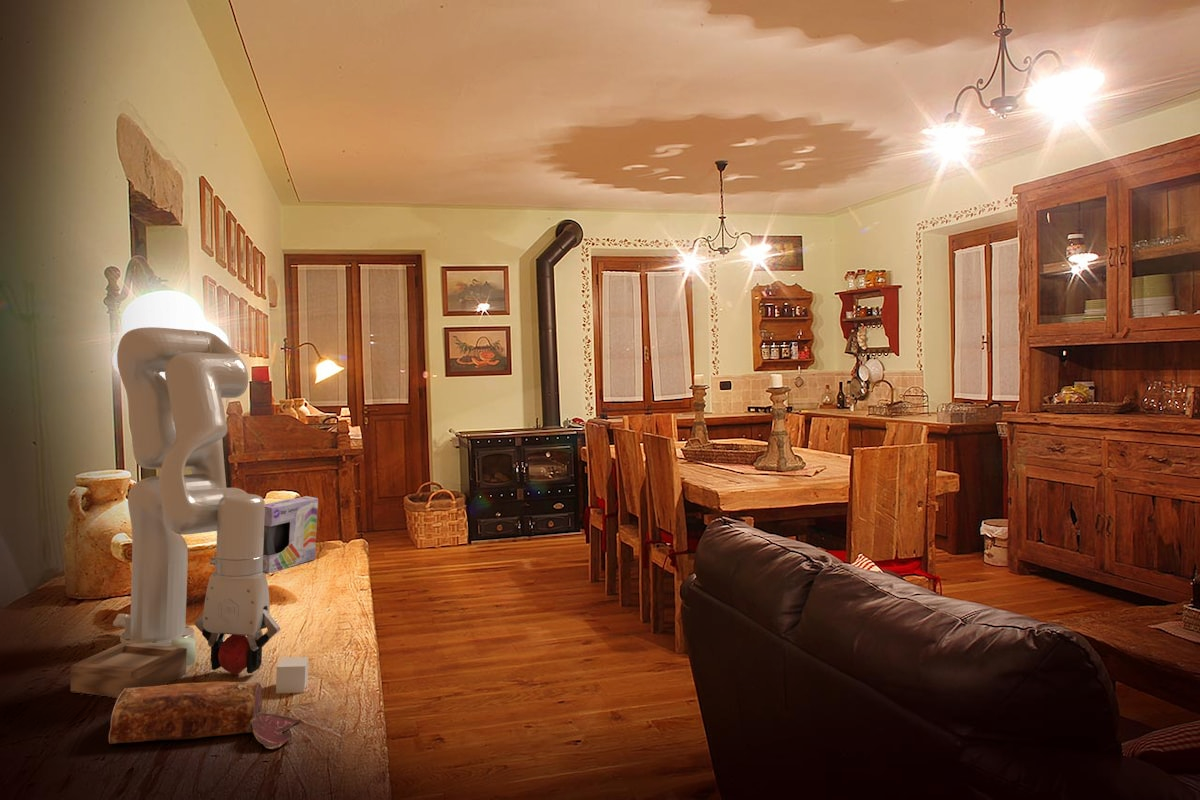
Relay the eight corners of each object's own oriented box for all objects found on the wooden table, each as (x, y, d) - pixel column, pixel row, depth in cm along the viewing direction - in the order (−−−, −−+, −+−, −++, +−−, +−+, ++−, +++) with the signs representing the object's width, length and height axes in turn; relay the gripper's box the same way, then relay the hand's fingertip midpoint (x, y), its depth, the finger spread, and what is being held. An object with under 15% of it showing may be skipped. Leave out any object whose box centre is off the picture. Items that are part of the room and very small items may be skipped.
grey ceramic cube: (275, 693, 139) (276, 667, 138) (279, 683, 143) (280, 657, 143) (304, 693, 140) (305, 666, 139) (307, 682, 144) (308, 657, 144)
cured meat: (296, 752, 119) (298, 704, 118) (98, 765, 112) (99, 715, 112) (305, 705, 136) (307, 663, 136) (134, 714, 129) (136, 670, 129)
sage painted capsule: (165, 665, 149) (165, 643, 148) (179, 658, 153) (180, 636, 152) (186, 667, 148) (186, 645, 148) (199, 660, 152) (200, 638, 152)
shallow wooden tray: (70, 693, 135) (71, 665, 134) (122, 667, 146) (123, 642, 146) (138, 700, 133) (139, 672, 133) (185, 674, 145) (186, 648, 145)
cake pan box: (266, 574, 214) (269, 506, 214) (251, 572, 216) (254, 504, 216) (317, 560, 232) (319, 497, 232) (302, 558, 234) (305, 495, 233)
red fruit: (239, 682, 142) (241, 636, 142) (209, 678, 143) (211, 632, 143) (260, 671, 148) (262, 626, 148) (231, 667, 149) (233, 622, 149)
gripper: (179, 567, 143) (176, 671, 143) (274, 575, 140) (271, 681, 141) (206, 557, 150) (202, 657, 151) (297, 565, 148) (293, 666, 148)
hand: (235, 668), depth 146 cm, fingers closed on red fruit, 5 cm apart
